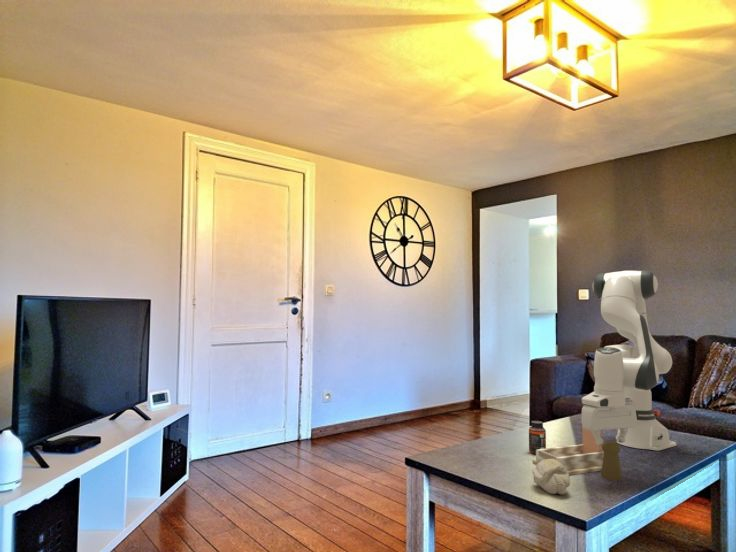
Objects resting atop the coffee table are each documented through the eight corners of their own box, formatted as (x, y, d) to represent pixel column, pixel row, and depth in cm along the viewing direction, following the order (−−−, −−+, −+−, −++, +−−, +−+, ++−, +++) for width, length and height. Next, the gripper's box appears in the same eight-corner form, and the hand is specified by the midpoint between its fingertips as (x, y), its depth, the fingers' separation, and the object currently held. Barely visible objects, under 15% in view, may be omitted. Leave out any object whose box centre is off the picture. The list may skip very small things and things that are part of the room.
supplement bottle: (547, 456, 173) (546, 424, 174) (530, 454, 174) (529, 423, 175) (544, 451, 179) (544, 420, 180) (528, 450, 180) (527, 419, 181)
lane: (585, 456, 173) (585, 442, 174) (618, 468, 160) (618, 452, 161) (532, 463, 164) (532, 448, 165) (562, 476, 151) (562, 460, 152)
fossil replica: (555, 501, 132) (579, 497, 137) (559, 470, 132) (582, 468, 137) (522, 483, 143) (544, 481, 147) (525, 455, 143) (547, 453, 148)
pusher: (586, 456, 169) (585, 421, 170) (603, 462, 162) (602, 426, 163) (582, 456, 168) (582, 422, 169) (599, 462, 162) (598, 426, 163)
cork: (597, 474, 154) (596, 439, 155) (615, 474, 154) (614, 439, 155) (607, 480, 148) (606, 444, 149) (626, 480, 148) (625, 444, 149)
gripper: (624, 396, 160) (625, 438, 158) (577, 398, 152) (578, 443, 151) (641, 399, 154) (642, 443, 152) (593, 401, 146) (594, 448, 145)
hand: (610, 443), depth 152 cm, fingers open, 8 cm apart
